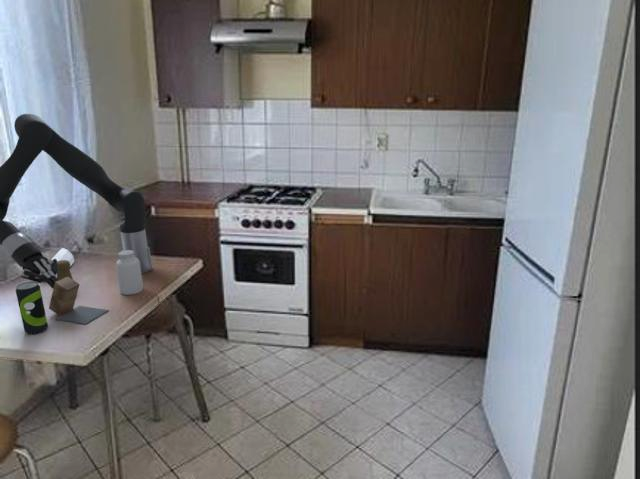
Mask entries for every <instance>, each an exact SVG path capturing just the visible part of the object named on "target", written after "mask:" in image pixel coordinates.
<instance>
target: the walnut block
mask: <svg viewBox="0 0 640 479" xmlns="http://www.w3.org/2000/svg"><path fill="white" fill-rule="evenodd" d="M79 287H80V283H79V282H78V281H76V280H74V279H73V280H72V279H71V278H69V277H68V276H67V277H65V278H63V279H61V280H59V281H56V282H55V284H54V289H53V288H52V293H51V297H50V301H49V302H50V303H49V305H48V306H49V307H48V309H49V310H50V311H52V312H53V313H55V314H57V316H58V317H59V316H61V315H63V314H65V313H67V312H69V311H71V310H72V309H74V308H75V304H76V300H77V299H76V298H77V297H78V292H79Z"/></svg>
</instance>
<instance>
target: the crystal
mask: <svg viewBox="0 0 640 479" xmlns="http://www.w3.org/2000/svg"><path fill="white" fill-rule="evenodd" d="M53 259H56V260H57V261H60V260H67V261H69V263H70V267H72V265H73V264H74V263H75V258H74V255H73V254H72V253H71V252H70V250H69V249H66V248H64V247H61V248H60V249H59V251H58V252H56V254H55V255H54V256H53V257H52V258H51V259H50V260H53ZM48 265H49V264H48ZM55 277H56V278H57V274H56V275H55Z"/></svg>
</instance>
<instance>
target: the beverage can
mask: <svg viewBox="0 0 640 479" xmlns="http://www.w3.org/2000/svg"><path fill="white" fill-rule="evenodd" d="M15 293H16V294H15V295H16V300H17V303H18V307H19V313H20V316H21V321H22V326H23V329H24V332H25V333H26V334H28V335H38V334H40V333H43V332H45V331H46V330H47V329H48V326H49V324H48V320H47V314H46V309H45V304H44V300H43V295H42V291H41V286H40V285H39V283H38V282H35V281H31V280H30V281H26V282H22V283H19V284H17V285H16V286H15Z"/></svg>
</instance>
